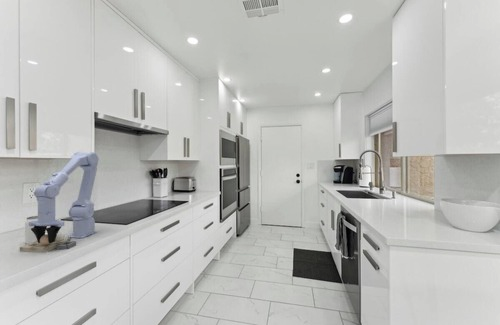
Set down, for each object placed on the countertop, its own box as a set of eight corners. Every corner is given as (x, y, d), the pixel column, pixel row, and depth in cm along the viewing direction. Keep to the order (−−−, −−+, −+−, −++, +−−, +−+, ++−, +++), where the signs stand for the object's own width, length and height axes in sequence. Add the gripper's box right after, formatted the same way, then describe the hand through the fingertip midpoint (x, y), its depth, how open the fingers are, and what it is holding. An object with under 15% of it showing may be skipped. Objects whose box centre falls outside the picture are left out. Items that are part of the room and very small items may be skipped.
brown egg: (36, 246, 95) (36, 236, 95) (46, 242, 99) (46, 232, 99) (46, 246, 94) (46, 236, 94) (55, 242, 99) (56, 232, 99)
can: (47, 239, 108) (47, 215, 108) (35, 244, 102) (35, 218, 102) (34, 239, 108) (34, 215, 108) (20, 244, 102) (21, 218, 102)
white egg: (58, 239, 105) (58, 230, 105) (67, 240, 105) (67, 230, 105) (49, 243, 100) (49, 233, 100) (58, 243, 100) (58, 233, 100)
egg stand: (66, 244, 102) (66, 241, 102) (77, 244, 102) (77, 241, 102) (55, 249, 97) (55, 245, 97) (67, 249, 96) (67, 245, 96)
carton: (46, 241, 106) (46, 237, 106) (70, 241, 105) (70, 238, 105) (19, 251, 94) (19, 247, 94) (46, 252, 93) (46, 247, 93)
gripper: (21, 213, 93) (21, 245, 93) (54, 214, 92) (53, 246, 92) (37, 210, 100) (37, 239, 100) (68, 210, 99) (68, 240, 99)
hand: (46, 242), depth 97 cm, fingers closed on brown egg, 4 cm apart
